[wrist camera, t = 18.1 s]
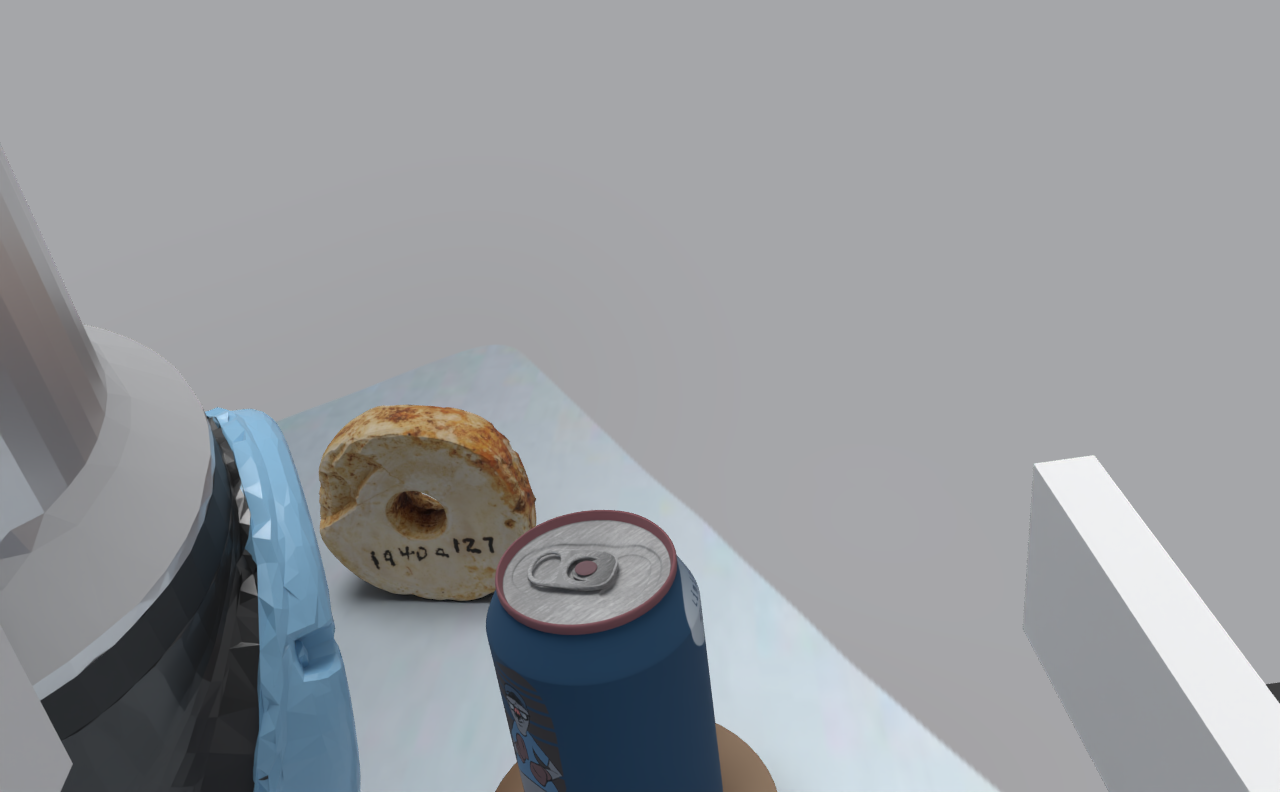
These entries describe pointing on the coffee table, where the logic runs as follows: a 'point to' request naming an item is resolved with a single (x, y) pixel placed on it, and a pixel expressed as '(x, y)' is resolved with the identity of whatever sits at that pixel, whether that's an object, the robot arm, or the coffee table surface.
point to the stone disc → (423, 500)
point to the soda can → (603, 659)
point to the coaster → (740, 767)
